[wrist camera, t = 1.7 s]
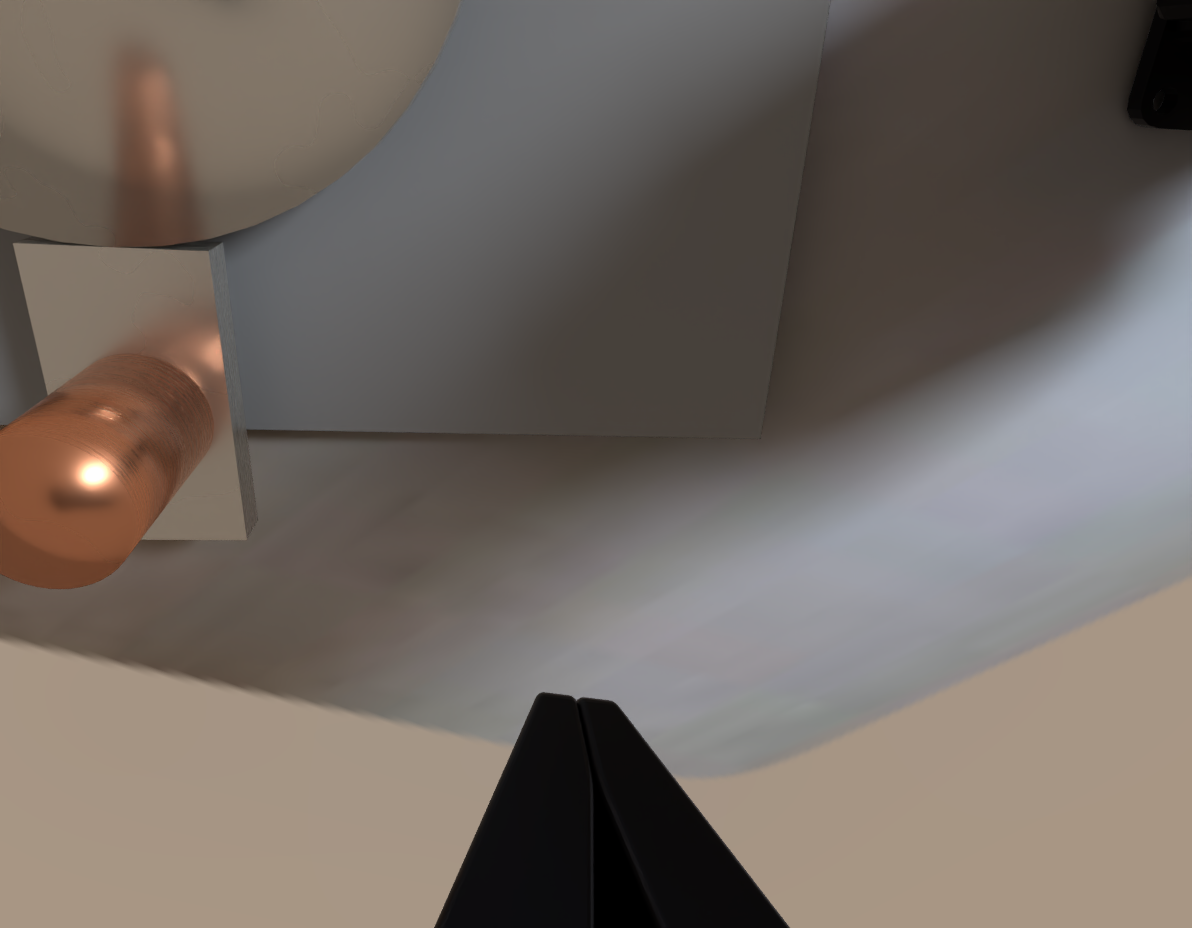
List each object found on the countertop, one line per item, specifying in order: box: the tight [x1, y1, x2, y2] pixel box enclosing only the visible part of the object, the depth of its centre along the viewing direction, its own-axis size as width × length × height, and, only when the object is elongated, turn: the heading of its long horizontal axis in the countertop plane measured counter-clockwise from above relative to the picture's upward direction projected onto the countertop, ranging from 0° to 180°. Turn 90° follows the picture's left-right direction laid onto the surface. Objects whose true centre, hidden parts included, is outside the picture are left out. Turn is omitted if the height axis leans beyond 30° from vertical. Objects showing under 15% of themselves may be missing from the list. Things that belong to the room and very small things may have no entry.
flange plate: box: [0, 0, 463, 589], centre depth 11 cm, size 18×12×4 cm
